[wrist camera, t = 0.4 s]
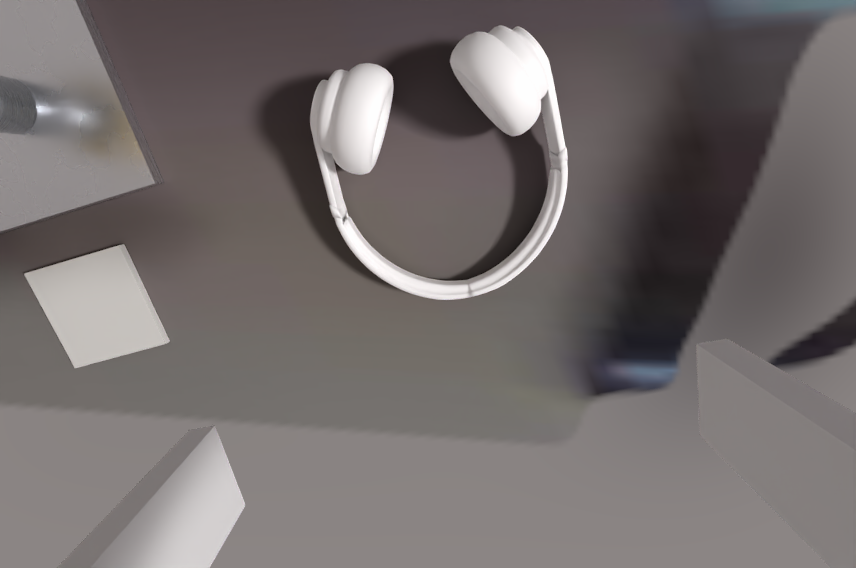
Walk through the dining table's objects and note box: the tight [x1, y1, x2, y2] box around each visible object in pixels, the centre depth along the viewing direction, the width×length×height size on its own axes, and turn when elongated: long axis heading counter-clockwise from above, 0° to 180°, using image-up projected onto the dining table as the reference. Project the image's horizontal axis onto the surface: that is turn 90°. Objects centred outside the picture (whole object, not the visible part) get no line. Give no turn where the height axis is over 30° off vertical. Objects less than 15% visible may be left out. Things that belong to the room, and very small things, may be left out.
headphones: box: [310, 25, 568, 300], centre depth 33 cm, size 20×8×20 cm
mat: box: [24, 244, 170, 368], centre depth 40 cm, size 10×10×1 cm
